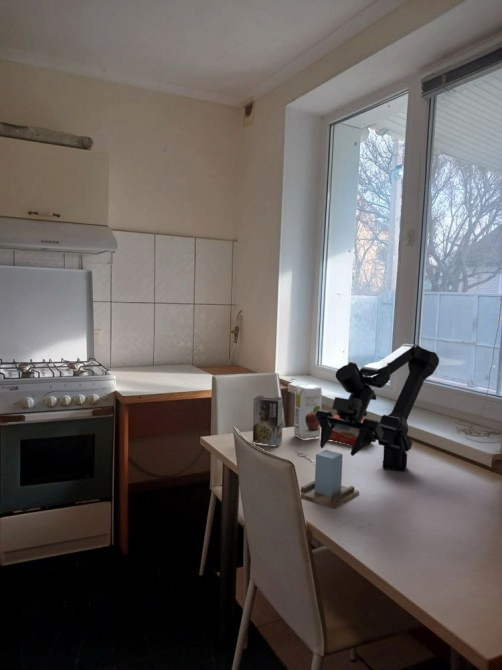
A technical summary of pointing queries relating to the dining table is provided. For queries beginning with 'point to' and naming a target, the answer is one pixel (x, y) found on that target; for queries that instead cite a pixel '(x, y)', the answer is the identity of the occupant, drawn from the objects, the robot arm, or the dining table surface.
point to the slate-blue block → (328, 473)
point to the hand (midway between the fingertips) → (336, 451)
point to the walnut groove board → (332, 501)
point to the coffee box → (267, 420)
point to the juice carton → (307, 411)
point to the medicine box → (344, 434)
